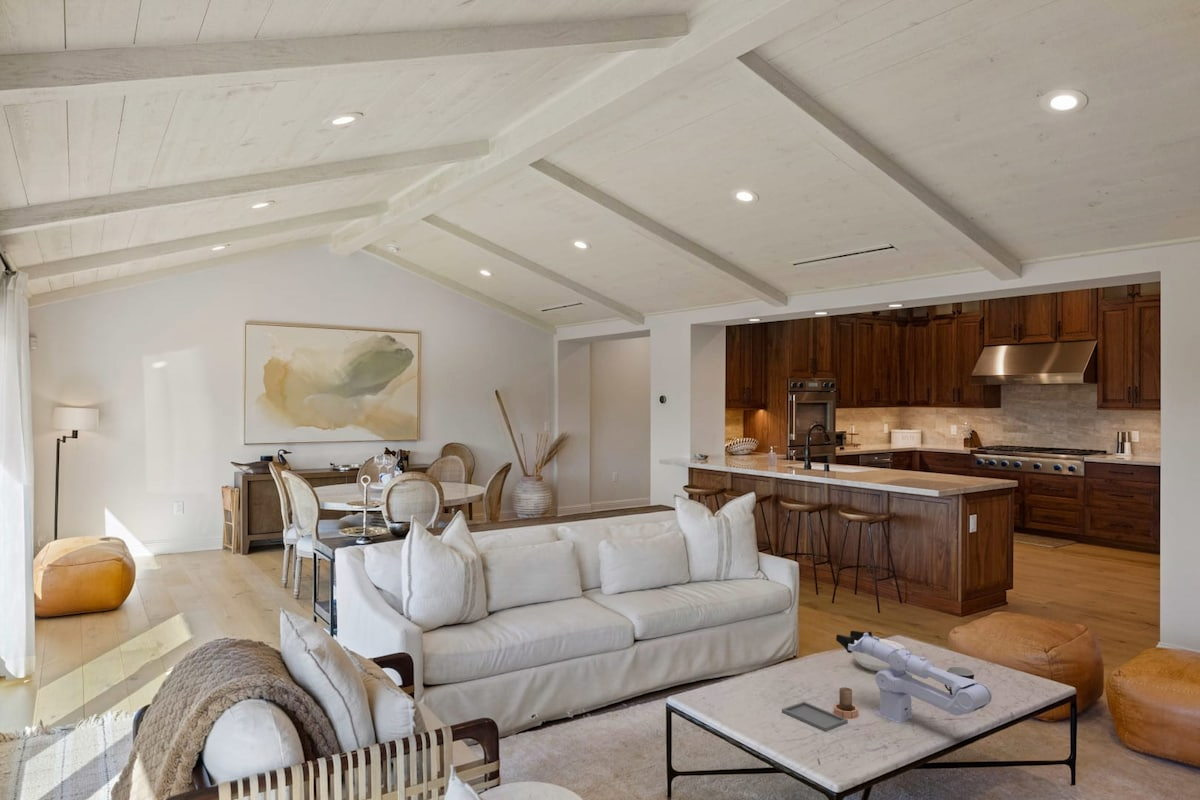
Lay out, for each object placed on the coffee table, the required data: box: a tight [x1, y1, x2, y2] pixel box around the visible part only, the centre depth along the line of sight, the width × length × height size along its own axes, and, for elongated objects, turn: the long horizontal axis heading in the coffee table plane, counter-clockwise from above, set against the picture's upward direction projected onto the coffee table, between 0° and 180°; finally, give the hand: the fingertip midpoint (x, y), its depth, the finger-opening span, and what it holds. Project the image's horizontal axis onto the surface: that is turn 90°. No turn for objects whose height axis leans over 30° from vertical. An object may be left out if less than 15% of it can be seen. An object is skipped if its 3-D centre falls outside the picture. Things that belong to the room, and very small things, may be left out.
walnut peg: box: [838, 687, 853, 711], centre depth 259 cm, size 4×4×8 cm
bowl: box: [851, 638, 906, 672], centre depth 303 cm, size 20×20×8 cm
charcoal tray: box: [781, 701, 849, 733], centre depth 256 cm, size 18×11×2 cm, turn 35°
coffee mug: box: [944, 666, 975, 695], centre depth 271 cm, size 12×9×10 cm
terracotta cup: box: [832, 702, 860, 720], centre depth 259 cm, size 8×8×2 cm
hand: (844, 635), depth 274 cm, fingers open, 7 cm apart
